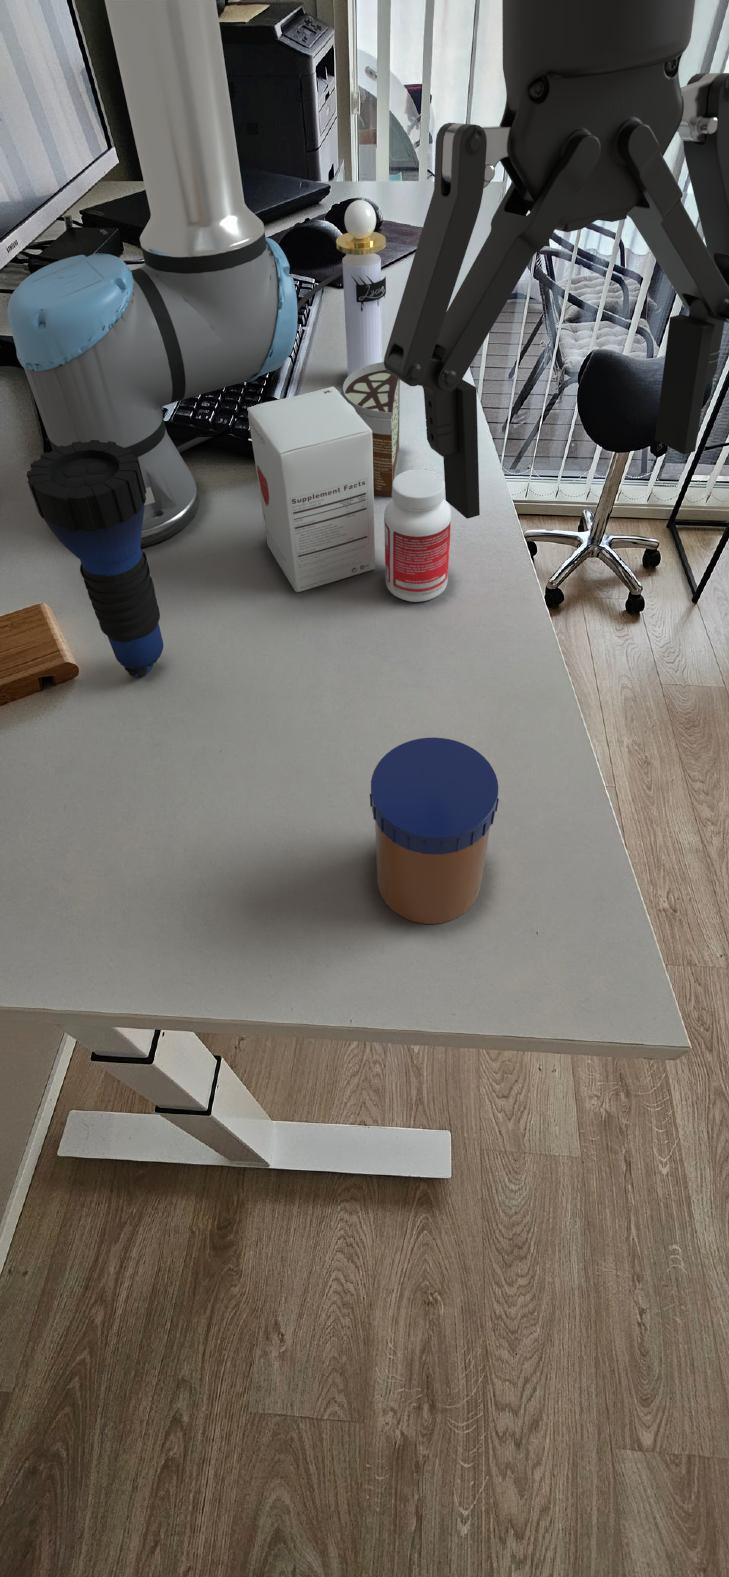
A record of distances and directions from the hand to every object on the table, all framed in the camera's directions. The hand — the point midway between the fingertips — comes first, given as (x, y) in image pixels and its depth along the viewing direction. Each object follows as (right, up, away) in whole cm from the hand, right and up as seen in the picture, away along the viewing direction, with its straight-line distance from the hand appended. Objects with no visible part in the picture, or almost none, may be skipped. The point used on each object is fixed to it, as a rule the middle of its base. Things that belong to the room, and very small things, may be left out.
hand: (571, 476), depth 46 cm
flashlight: (-31, -7, +28) cm, 43 cm away
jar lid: (-7, -18, +5) cm, 20 cm away
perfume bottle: (-12, +36, +61) cm, 72 cm away
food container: (-11, +18, +47) cm, 52 cm away
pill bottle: (-7, +2, +35) cm, 36 cm away
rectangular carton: (-16, +6, +38) cm, 42 cm away
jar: (-7, -24, +14) cm, 29 cm away
